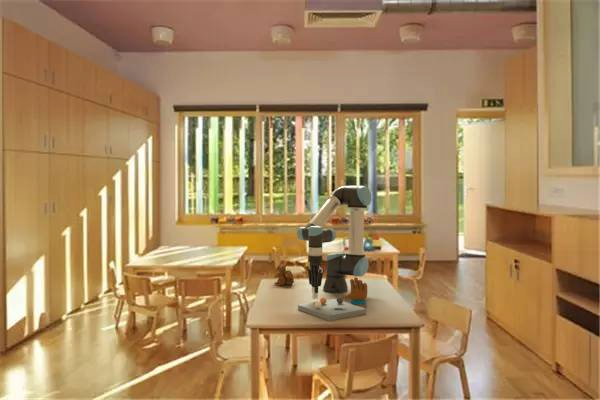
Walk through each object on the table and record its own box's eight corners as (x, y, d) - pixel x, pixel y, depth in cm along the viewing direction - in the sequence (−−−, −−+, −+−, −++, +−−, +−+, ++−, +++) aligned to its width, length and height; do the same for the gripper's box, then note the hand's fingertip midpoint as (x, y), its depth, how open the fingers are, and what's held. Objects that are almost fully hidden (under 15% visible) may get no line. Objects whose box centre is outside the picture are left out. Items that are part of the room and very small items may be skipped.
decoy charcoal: (335, 303, 264) (335, 296, 264) (340, 302, 266) (340, 295, 266) (339, 304, 261) (339, 297, 261) (344, 303, 263) (344, 297, 263)
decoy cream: (313, 308, 253) (313, 301, 253) (318, 307, 255) (318, 300, 255) (317, 309, 251) (317, 302, 250) (322, 308, 253) (322, 301, 252)
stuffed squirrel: (280, 282, 333) (280, 262, 333) (298, 284, 325) (298, 264, 325) (271, 284, 325) (271, 264, 325) (289, 287, 317) (289, 266, 317)
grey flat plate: (298, 309, 261) (298, 304, 261) (333, 303, 274) (334, 298, 274) (328, 320, 239) (328, 315, 239) (366, 313, 253) (366, 308, 253)
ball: (318, 303, 263) (318, 297, 263) (323, 302, 265) (323, 296, 265) (322, 305, 260) (322, 298, 260) (327, 304, 262) (328, 297, 262)
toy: (343, 304, 273) (344, 276, 272) (347, 301, 280) (347, 274, 279) (365, 305, 269) (365, 278, 269) (368, 303, 276) (368, 276, 275)
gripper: (302, 254, 271) (302, 297, 272) (316, 257, 260) (316, 301, 261) (313, 253, 275) (313, 295, 276) (328, 255, 264) (327, 300, 265)
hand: (315, 298), depth 268 cm, fingers closed
